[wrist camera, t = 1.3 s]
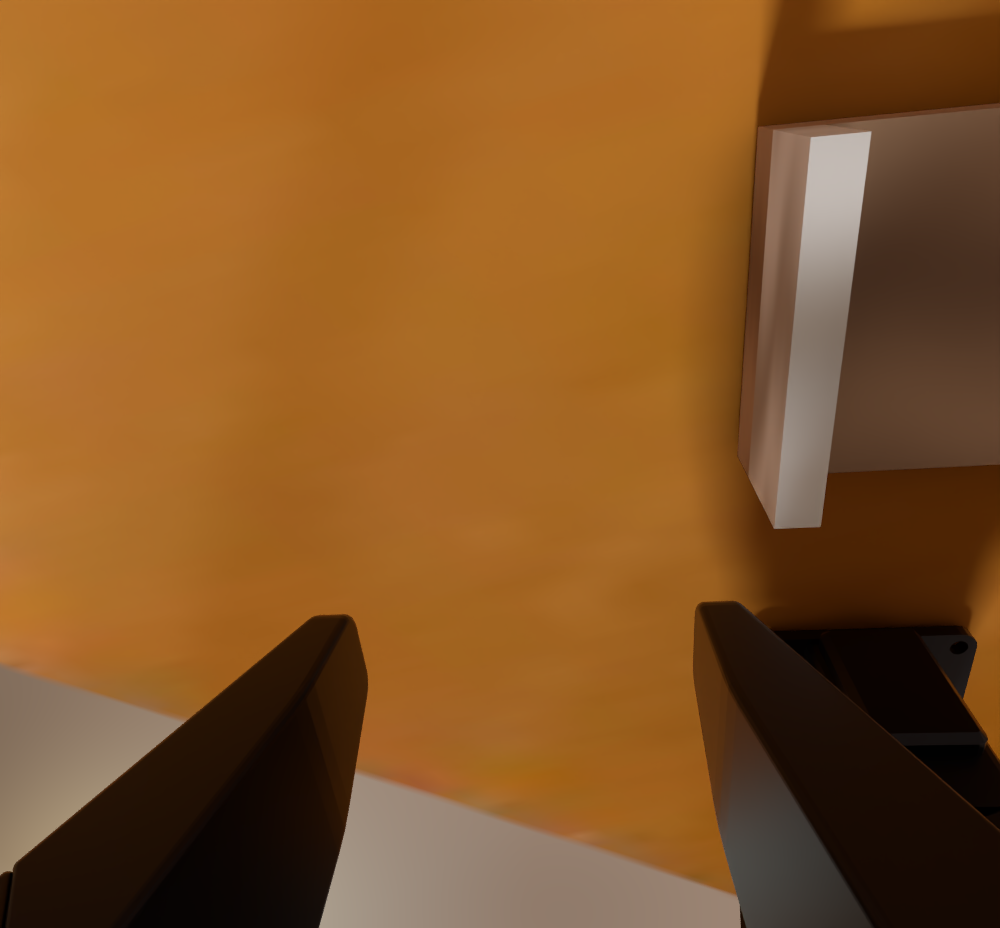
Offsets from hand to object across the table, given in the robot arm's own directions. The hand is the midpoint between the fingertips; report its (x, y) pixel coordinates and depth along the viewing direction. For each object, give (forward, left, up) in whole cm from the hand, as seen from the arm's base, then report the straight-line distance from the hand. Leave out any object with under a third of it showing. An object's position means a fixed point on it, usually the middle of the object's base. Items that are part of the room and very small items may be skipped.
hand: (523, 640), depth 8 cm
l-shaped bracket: (0, -10, -12) cm, 16 cm away
